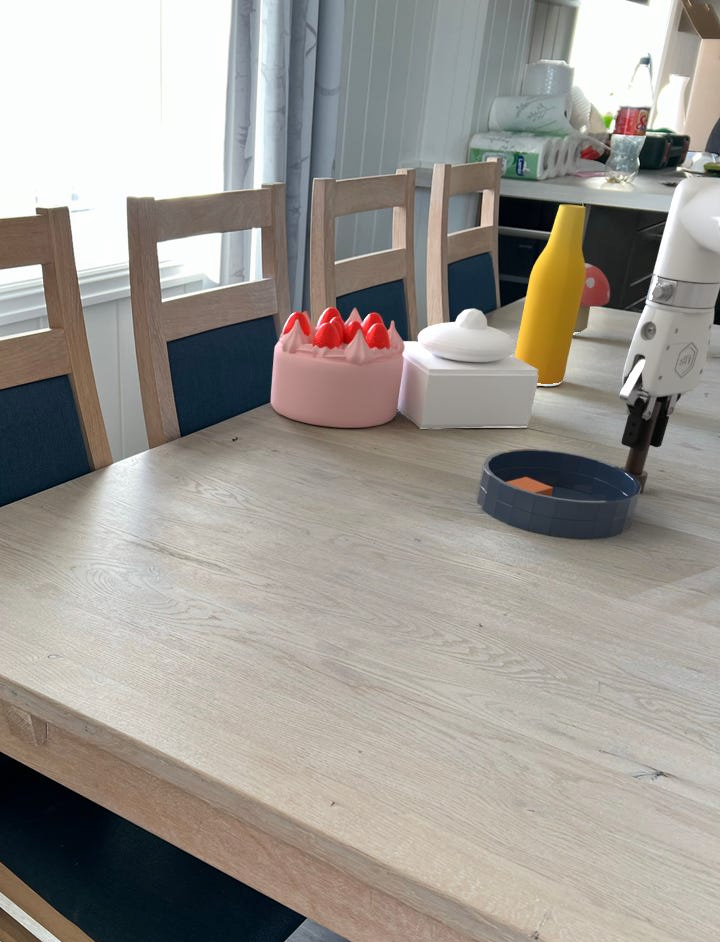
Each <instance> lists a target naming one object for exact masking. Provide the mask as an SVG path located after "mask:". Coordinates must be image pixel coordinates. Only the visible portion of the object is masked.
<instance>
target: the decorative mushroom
mask: <svg viewBox="0 0 720 942" xmlns="http://www.w3.org/2000/svg"><path fill="white" fill-rule="evenodd" d="M585 269H586V277H585V285H584V289H583V293H582V297H581V302H580V306H579V311H578V315H577V319H576V324H575V328H574V332H580V333H582V332H583V331H585V330H587V328H588V324H589V318H590V317H589V316H590V310H591V307H603V306H605V305H606V304H608V303H609V302H610V298H611V288H610V283H609V281H608V278H607V276H606V274H604V273H603V271H602V270H601V269H600V268H598V267H597V266H595V265H593V264H590V263H586V262H585ZM581 331H582V332H581Z"/></svg>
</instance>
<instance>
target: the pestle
mask: <svg viewBox="0 0 720 942" xmlns="http://www.w3.org/2000/svg"><path fill="white" fill-rule="evenodd" d="M643 400H644V402H645V403H646V400H647V399H643ZM660 407H661V403H660V402H658V401H656V402H655V405H654V408H653V411H652V414H651V417H650V418H649V419H652V420H653V423H652V426H651V430H650V434H649V437H648V441H647V444H646V448H645V450H642V451H639V450H636V449H633V448H630V447H629V451H628V455H627V457H626V458H627V459H626V462H625V466H621V467H620V468H621V469H623V470H625V471H627V472H628V473H630V474H631V475H632V476H634V477H635V478H636V479H637V480H638V481H639V483H640V485H641V490H640V494H639V495H641V494H643V493H644V490H645V486H646V482H647V480H648V476H649V473H648V471H646V470H644V468H645V465H646V461H647V458H648V454H649V450H650V446H651V445H650V443H651V440H652V436H653V432H654V429H655V425H656V422H657V418H658V414H659V411H660Z"/></svg>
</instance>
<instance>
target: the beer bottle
mask: <svg viewBox="0 0 720 942" xmlns="http://www.w3.org/2000/svg"><path fill="white" fill-rule="evenodd" d="M585 219H586V206H583V205H578V204H577V205H576V204H560V205H559V207H558V210H557V213H556V216H555V219H554V223H553V226H552V228H551V232H550V235H549V239H548V240H547V241H548V242H547V244H546V245H545V247H544V249H543V250H542V252H541V253H540V255H539V256H538V258H537V259H536V261H535V263H534V265H533V267H532V270H531V273H530V275H529V281H528V286H527V291H526V296H525V300H524V307H523V311H522V316H521V322H520V327H519V332H518V336H517V342H516V349H515V351H514V356H515V357H516V358H518V359H520V360H522V361H523V362H525V363H527V364H529V365H531V366H532V367H534V368H536V369H538V374H537V375H538V376H539V377H538V382H537V383H541V384H553V383H559V382H561V381H562V382H563V381H564V378H565V375H566V370H567V366H568V365H567V364H568V361H569V360H568V359H569V354H570V350H571V345H572V341H573V337H574V336H573V333H574V328H575V324H576V319H577V315H578V311H579V306H580V302H581V297H582V293H583V289H584V285H585V277H586V269H585V263H586V261H585V258H584V253H583V237H584V236H583V235H584V227H585V226H584V225H585Z"/></svg>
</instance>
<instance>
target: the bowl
mask: <svg viewBox="0 0 720 942" xmlns="http://www.w3.org/2000/svg"><path fill="white" fill-rule="evenodd" d="M524 477H528V478H530V479H533V480H535V481H538V482H540V483H543V484H545V485H548V486H550V487H553V491H552V495H551V496H546V495H542V494H537V493H533V492H530V491H527V490H524V489H520V488H518V487H515V486H513V485H511V484H508V483H506V482H508V481H512V480H516V479H520V478H524ZM640 490H641V485H640V483H639V481H638V480H637V479H636V478H635V477H634V476H632V475H631V474H630V473H628V472H627V471H625V470H623V469H621V467H619V466H617V465H614V464H612V463H610V462H607V461H604V460H601V459H598V458H594V457H590V456H586V455H583V454H579V453H573V452H567V451H560V450H552V449H539V448H538V449H537V448H518V449H508V450H503V451H498V452H495V453H493V454H491V455H489V456H487V457H486V458H485V459H484V461H483V462H482V467H481V472H480V476H479V483H478V488H477V493H476V501H477V504H478V506H479V507H480V509H481V510H483V512H485V513H486V514H487V515H489V516H490V517H492V518H493V519H494V520H495V519H496V520H497V521H499V522H501V523H504V524H506V525H508V526H511V527H513V528H516V529H519V530H521V531H526V532H529V533H534V534H537V535H543V536H547V537H554V538H560V539H568V540H569V539H570V540H601V539H606V538H607V539H608V538H613V537H616V536H619V535H622V534H624V533H625V532H626V531H628V530H629V529H630V528H631V526H632V522H633V519H634V516H635V511H636V507H637V504H638V501H639V497H640V495H641V494H640Z"/></svg>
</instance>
